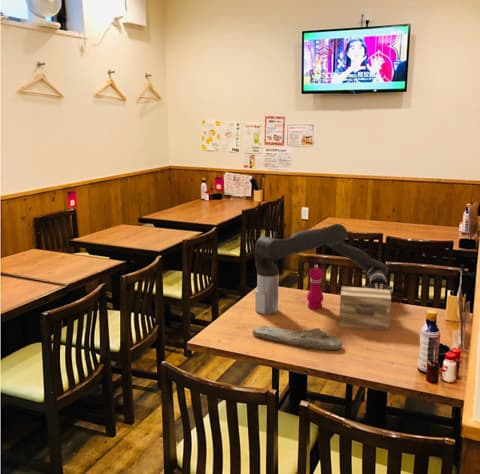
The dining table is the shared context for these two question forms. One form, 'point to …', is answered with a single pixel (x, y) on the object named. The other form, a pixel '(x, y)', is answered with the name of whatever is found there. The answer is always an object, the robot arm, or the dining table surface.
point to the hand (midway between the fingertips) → (379, 294)
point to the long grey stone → (299, 337)
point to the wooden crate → (365, 308)
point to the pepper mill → (315, 289)
